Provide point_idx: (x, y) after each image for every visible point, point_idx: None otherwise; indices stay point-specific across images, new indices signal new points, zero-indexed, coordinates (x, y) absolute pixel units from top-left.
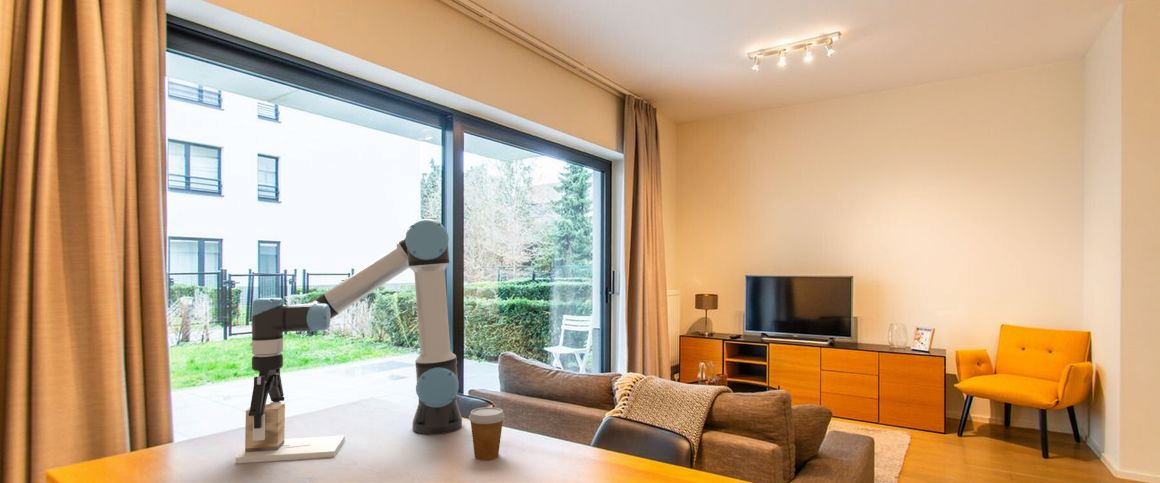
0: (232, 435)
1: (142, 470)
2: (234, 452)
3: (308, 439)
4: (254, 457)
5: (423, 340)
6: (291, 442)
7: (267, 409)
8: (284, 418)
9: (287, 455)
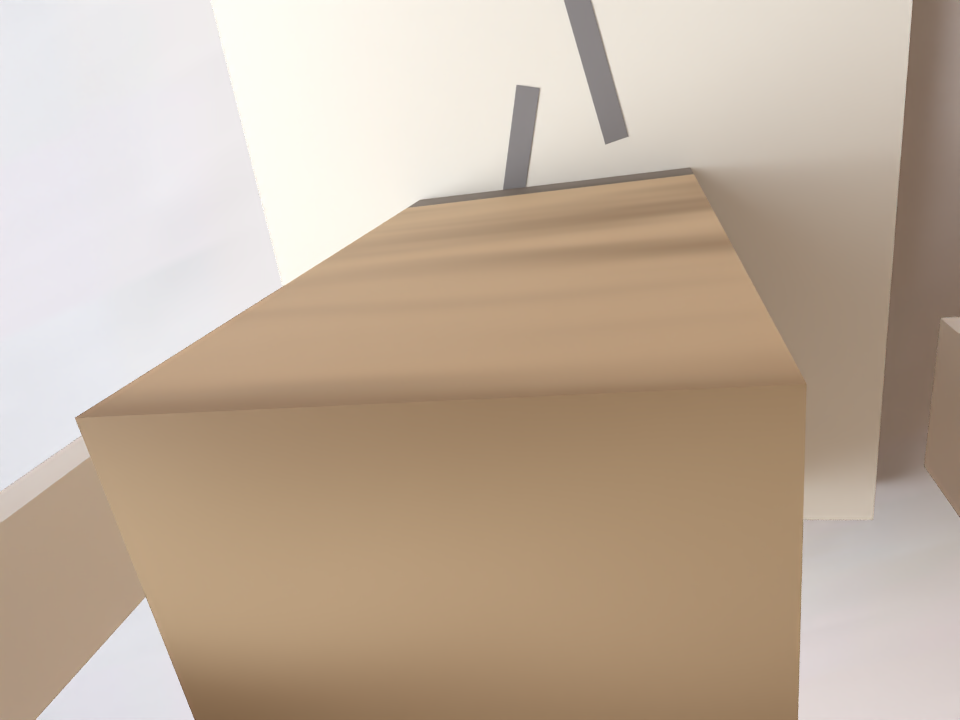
0: (128, 706)
1: None
2: None
3: None
4: (879, 346)
5: None
6: (393, 121)
7: (793, 683)
8: (295, 284)
9: None
